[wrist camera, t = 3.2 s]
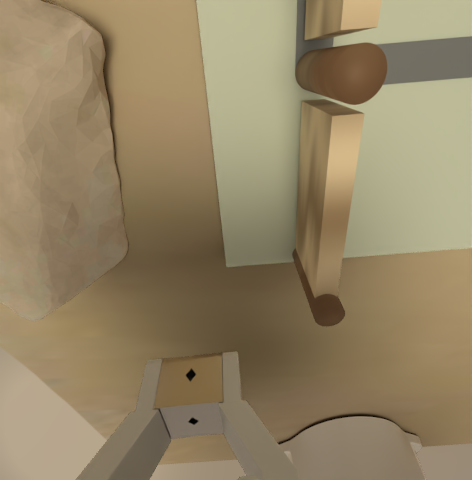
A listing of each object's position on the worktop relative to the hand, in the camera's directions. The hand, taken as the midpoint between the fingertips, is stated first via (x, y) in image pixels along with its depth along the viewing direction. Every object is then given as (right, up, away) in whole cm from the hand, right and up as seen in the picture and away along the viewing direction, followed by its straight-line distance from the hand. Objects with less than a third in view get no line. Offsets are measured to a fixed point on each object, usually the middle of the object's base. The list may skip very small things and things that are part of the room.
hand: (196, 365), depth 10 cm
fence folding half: (+6, +7, +8) cm, 12 cm away
